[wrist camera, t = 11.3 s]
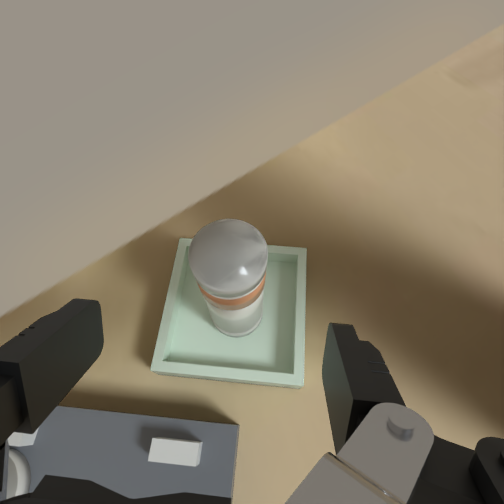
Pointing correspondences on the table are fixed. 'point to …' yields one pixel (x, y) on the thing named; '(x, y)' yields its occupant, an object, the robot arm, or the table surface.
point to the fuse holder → (132, 452)
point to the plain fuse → (18, 474)
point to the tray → (243, 348)
